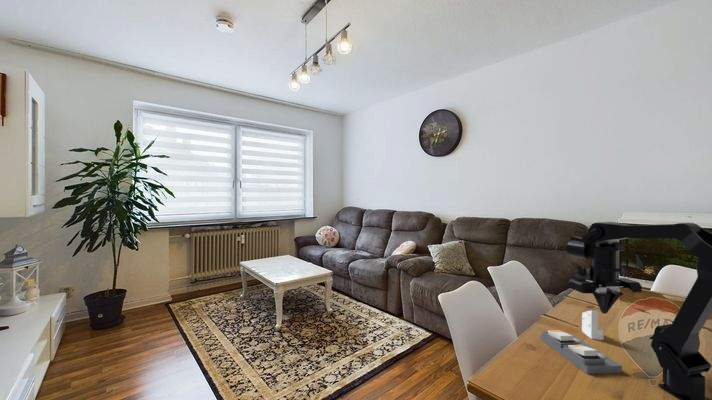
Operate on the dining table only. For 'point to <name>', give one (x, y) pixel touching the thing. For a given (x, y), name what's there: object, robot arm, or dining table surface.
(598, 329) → the white wedge bracket
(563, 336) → the far rocker
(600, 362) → the grey stepped stand
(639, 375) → the dining table surface
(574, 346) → the near rocker
